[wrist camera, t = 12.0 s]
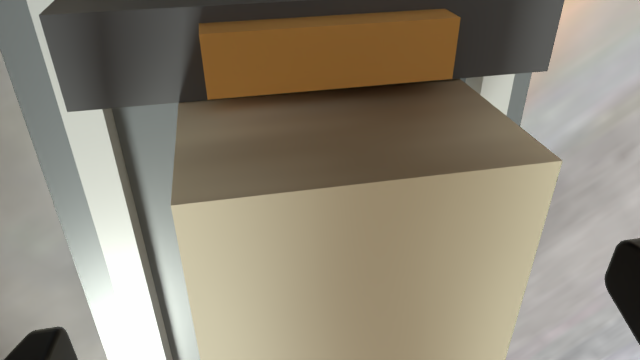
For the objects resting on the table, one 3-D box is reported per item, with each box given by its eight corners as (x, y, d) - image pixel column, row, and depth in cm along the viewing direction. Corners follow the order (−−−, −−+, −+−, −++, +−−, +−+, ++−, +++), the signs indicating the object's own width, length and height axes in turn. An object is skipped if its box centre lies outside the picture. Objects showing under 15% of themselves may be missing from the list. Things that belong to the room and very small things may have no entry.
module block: (214, 263, 14) (224, 485, 9) (182, 48, 11) (170, 206, 6) (387, 240, 15) (484, 429, 10) (405, 34, 12) (561, 160, 7)
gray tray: (164, 485, 21) (156, 631, 17) (-3, -30, 10) (-127, 35, 6) (436, 428, 23) (486, 546, 19) (528, -52, 12) (686, -12, 8)
